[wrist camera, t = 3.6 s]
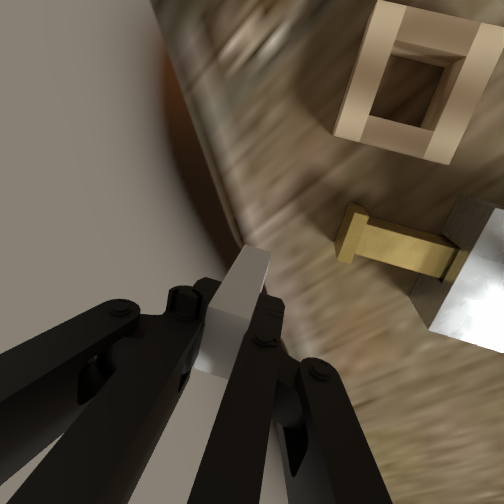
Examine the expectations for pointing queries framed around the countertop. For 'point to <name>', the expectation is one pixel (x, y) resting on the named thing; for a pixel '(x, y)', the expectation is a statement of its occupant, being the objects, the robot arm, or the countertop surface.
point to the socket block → (468, 278)
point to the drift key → (393, 244)
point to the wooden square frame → (427, 51)
